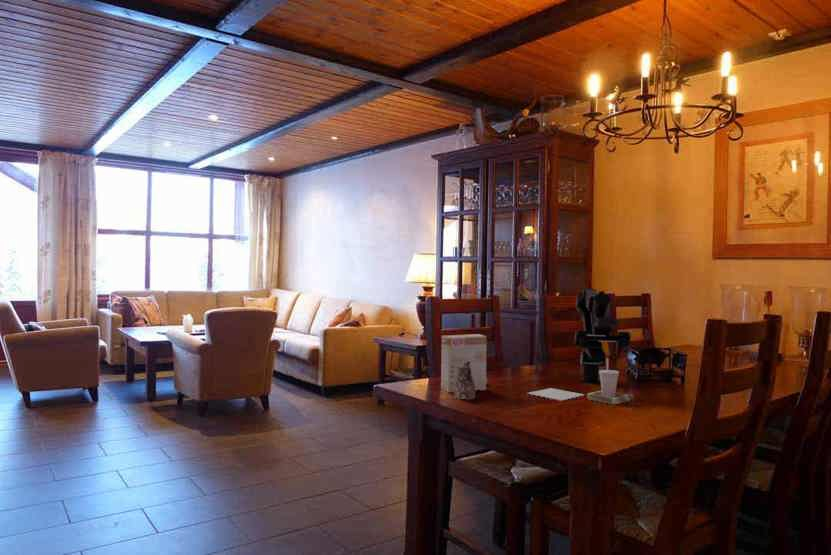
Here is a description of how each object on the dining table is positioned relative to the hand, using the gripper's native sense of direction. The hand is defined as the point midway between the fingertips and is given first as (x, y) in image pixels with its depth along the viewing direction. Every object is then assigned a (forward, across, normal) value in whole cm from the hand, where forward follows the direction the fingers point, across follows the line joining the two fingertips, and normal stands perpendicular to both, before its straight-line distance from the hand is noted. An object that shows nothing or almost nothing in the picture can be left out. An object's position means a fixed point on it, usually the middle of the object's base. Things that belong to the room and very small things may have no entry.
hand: (604, 357), depth 205 cm
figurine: (+19, -48, 0) cm, 51 cm away
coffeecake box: (+10, -49, +9) cm, 51 cm away
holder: (+15, 0, +4) cm, 15 cm away
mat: (+11, -17, +7) cm, 21 cm away
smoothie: (+15, 0, +4) cm, 15 cm away
